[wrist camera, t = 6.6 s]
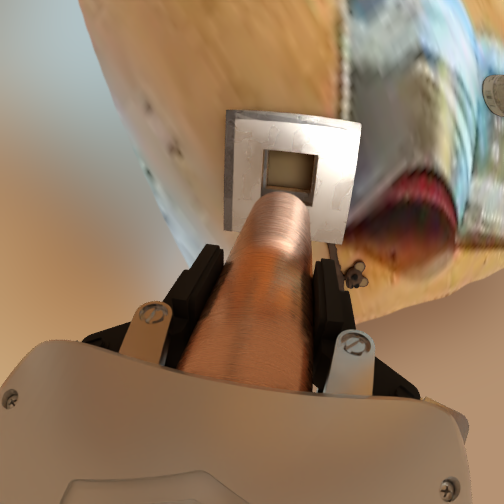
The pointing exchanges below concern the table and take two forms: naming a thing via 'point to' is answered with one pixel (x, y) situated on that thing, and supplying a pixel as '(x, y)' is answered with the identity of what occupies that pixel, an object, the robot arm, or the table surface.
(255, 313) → the tube
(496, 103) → the spray can
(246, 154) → the frame
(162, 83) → the table surface
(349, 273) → the bear figurine
